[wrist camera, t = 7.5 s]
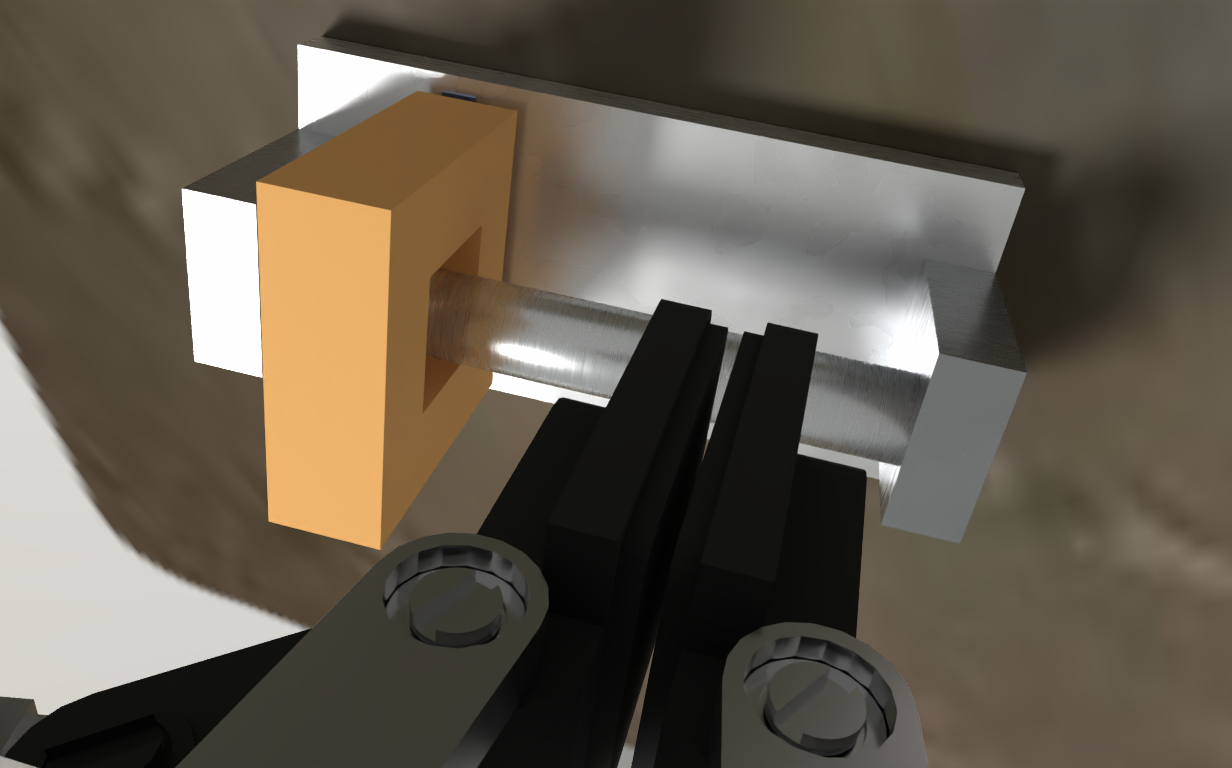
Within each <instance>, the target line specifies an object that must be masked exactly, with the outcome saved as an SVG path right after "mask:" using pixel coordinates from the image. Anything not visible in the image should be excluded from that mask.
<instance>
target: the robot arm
mask: <svg viewBox="0 0 1232 768" xmlns="http://www.w3.org/2000/svg"><path fill="white" fill-rule="evenodd" d="M711 317H712V310H709V309H705V308H700V307H696V306H691V305H687V304H682V303H678V302H673V301H669V300H664V299H661V300H660V302H659V304H658V306H657V307H656V309H655V311H654V313H653V315H652V317H651V319H650V321H649V323H648V325H647V327H646V329H645V331H644V333H643V335H642V337H641V339H640V341H639V343H638V345H637V347H636V349H635V351H634V353H633V355H632V357H631V359H630V361H629V363H628V365H627V367H626V369H625V371H624V373H623V375H622V377H621V379H620V381H619V383H618V384H617V386H616V388H615V390H614V392H613V394H612V396H611V398H610V400H609V402H608V404H607V406H606V407H602V406H598V405H594V404H589V403H585V402H581V401H577V400H573V399H569V398H564V397H562V398H559V399H558V400H557V401H556V403H555V404H554V405H553V407H552V408H551V410H550V412H549V414H548V415H547V417H546V419H545V420H544V422H543V424H542V425H541V427H540V429H539V430H538V432H537V434H536V435H535V437H534V439H533V440H532V442H531V444H530V445H529V447H528V449H527V450H526V452H525V454H524V456H523V457H522V459H521V461H520V462H519V464H518V466H517V467H516V469H515V471H514V472H513V474H512V476H511V477H510V479H509V481H508V482H507V484H506V486H505V487H504V489H503V491H502V493H501V494H500V496H499V498H498V499H497V501H496V503H495V504H494V506H493V508H492V509H491V511H490V513H489V514H488V516H487V518H486V519H485V521H484V523H483V524H482V526H481V528H480V529H479V531H478V533H477V534H467V533H444V534H438V535H432V536H425V537H421V538H418V539H416V540H413V541H411V542H408V543H406V544H403V545H401V546H398V547H397V548H395V549H394V550H393V551H391V552H390V553H389V554H387V555H386V556H385V557H383V558H382V559H381V560H379V561H378V562H377V563H376V564H375V565H374V566H373V567H372V568H371V569H370V570H369V571H368V572H367V573H366V574H365V575H364V576H363V577H362V578H361V579H360V580H359V581H358V582H357V583H356V584H355V585H354V586H353V588H352V589H351V590H350V591H349V592H348V593H347V594H346V595H345V596H344V597H343V598H342V599H341V600H340V601H339V602H338V603H337V604H336V605H335V606H334V607H333V608H332V609H331V610H330V611H329V612H328V613H327V614H326V615H325V616H324V617H323V618H322V619H321V620H320V621H319V622H318V623H317V624H316V625H315V626H314V627H313V628H311V629H308V630H305V631H301V632H298V633H295V634H291V635H288V636H284V637H281V638H278V639H275V640H271V641H268V642H264V643H261V644H258V645H255V646H251V647H248V648H244V649H241V650H238V651H234V652H231V653H228V654H224V655H221V656H217V657H214V658H211V659H207V660H204V661H201V662H198V663H194V664H191V665H187V666H184V667H181V668H177V669H174V670H171V671H167V672H164V673H161V674H157V675H154V676H151V677H147V678H144V679H140V680H137V681H134V682H130V683H127V684H124V685H121V686H117V687H114V688H110V689H107V690H104V691H100V692H97V693H94V694H91V695H89V696H86V697H84V698H82V699H79V700H77V701H74V702H72V703H69V704H67V705H64V706H62V707H60V708H59V709H57V710H56V711H54V712H53V713H51V714H50V715H39V714H38V713H37V710H36V706H35V702H34V700H33V699H23V698H10V697H0V768H617V766H618V763H619V759H620V756H621V753H622V750H623V746H624V743H625V740H626V737H627V733H628V730H629V727H630V724H631V720H632V717H633V714H634V711H635V707H636V704H637V701H638V697H639V694H640V691H641V688H642V684H643V681H644V678H645V675H646V671H647V668H648V665H649V662H650V658H651V655H652V652H653V648H654V653H653V658H652V663H651V668H650V673H649V678H648V684H647V689H646V694H645V699H644V704H643V709H642V715H641V720H640V725H639V730H638V735H637V740H636V745H635V751H634V756H633V761H632V766H631V768H929V766H928V761H927V756H926V751H925V746H924V741H923V736H922V731H921V725H920V720H919V715H918V710H917V707H916V704H915V702H914V699H913V697H912V694H911V691H910V689H909V686H908V684H907V683H906V682H905V680H904V679H903V678H902V676H901V675H900V674H899V673H898V671H897V670H896V669H895V667H894V666H893V665H892V663H891V662H889V661H888V660H887V659H886V658H884V657H883V656H882V655H881V654H879V653H878V652H877V651H876V650H874V649H873V648H872V647H871V646H869V645H868V644H866V643H864V642H862V641H860V640H858V639H856V630H857V615H858V600H859V585H860V571H861V556H862V541H863V527H864V512H865V497H866V483H867V472H866V471H865V470H864V469H860V468H856V467H851V466H847V465H843V464H839V463H835V462H831V461H827V460H822V459H818V458H814V457H810V456H806V455H802V454H797V453H798V448H799V442H800V436H801V431H802V425H803V419H804V414H805V408H806V402H807V397H808V391H809V385H810V380H811V374H812V369H813V363H814V357H815V352H816V346H817V340H818V333H813V332H809V331H804V330H800V329H795V328H791V327H786V326H782V325H777V324H773V323H768V322H767V326H766V329H765V333H764V335H759V334H755V333H750V332H746V331H744V333H743V336H742V339H741V342H740V346H739V349H738V352H737V355H736V358H735V361H734V364H733V368H732V371H731V374H730V377H729V380H728V383H727V386H726V390H725V393H724V396H723V399H722V402H721V405H720V408H719V412H718V415H717V418H716V421H715V424H714V427H713V430H712V433H711V437H710V440H709V443H708V446H707V449H706V452H705V455H704V450H705V445H706V440H707V435H708V430H709V425H710V420H711V415H712V410H713V405H714V400H715V395H716V390H717V385H718V380H719V376H720V371H721V366H722V361H723V356H724V351H725V346H726V341H727V335H728V327H724V326H719V325H715V324H711ZM703 455H704V459H703ZM702 460H703V462H702ZM654 645H655V647H654Z"/></svg>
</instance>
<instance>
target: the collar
mask: <svg viewBox="0 0 1232 768" xmlns="http://www.w3.org/2000/svg"><path fill="white" fill-rule="evenodd" d="M517 112H518V111H516V110H511V109H506V108H501V107H496V106H491V105H486V104H481V103H476V102H471V101H466V100H461V99H456V98H451V97H446V96H441V95H436V94H431V93H426V92H421V91H416V92H414V93H413V94H411V95H409V96H407V97H405V98H404V99H402V100H400V101H398V102H397V103H395V104H393V105H391V106H389V107H388V108H386V109H384V110H382V111H381V112H379V113H377V114H375V115H373V116H372V117H370V118H368V119H366V120H365V121H363V122H361V123H359V124H357V125H356V126H354V127H352V128H350V129H349V130H347V131H345V132H343V133H341V134H340V135H338V136H336V137H334V138H333V139H331V140H329V141H327V142H325V143H324V144H322V145H320V146H318V147H317V148H315V149H313V150H311V151H309V152H308V153H306V154H304V155H302V156H301V157H299V158H297V159H295V160H293V161H292V162H290V163H288V164H286V165H285V166H283V167H281V168H279V169H277V170H276V171H274V172H272V173H270V174H269V175H267V176H265V177H263V178H261V179H260V180H258V181H256V191H257V218H258V245H259V272H260V299H261V327H262V354H263V381H264V408H265V435H266V462H267V489H268V516H269V522H273V523H277V524H281V525H285V526H289V527H293V528H297V529H301V530H305V531H308V532H312V533H316V534H320V535H324V536H328V537H332V538H336V539H340V540H344V541H348V542H352V543H355V544H359V545H363V546H367V547H371V548H375V549H379V550H380V549H381V548H382V546H383V545H384V543H385V542H386V540H387V539H388V538H389V536H390V535H391V533H392V532H393V530H394V529H395V527H396V526H397V524H398V523H399V521H400V520H401V518H402V517H403V515H404V514H405V512H406V511H407V509H408V508H409V506H410V505H411V503H412V502H413V501H414V499H415V498H416V496H417V495H418V493H419V492H420V490H421V489H422V487H423V486H424V484H425V483H426V481H427V480H428V478H429V477H430V475H431V474H432V472H433V471H434V469H435V468H436V466H437V465H438V464H439V462H440V461H441V459H442V458H443V456H444V455H445V453H446V452H447V450H448V449H449V447H450V446H451V444H452V443H453V441H454V440H455V438H456V437H457V435H458V434H459V432H460V431H461V429H462V428H463V427H464V425H465V424H466V422H467V421H468V419H469V418H470V416H471V415H472V413H473V412H474V410H475V409H476V407H477V406H478V404H479V403H480V401H481V400H482V398H483V397H484V395H485V394H486V392H487V391H488V390H489V388H490V387H491V385H492V382H493V372H490V371H486V370H481V369H477V368H473V367H468V366H464V365H460V364H455V363H451V362H447V361H442V360H438V359H434V358H429V357H426V343H427V325H428V306H429V288H430V277H431V276H432V275H433V274H434V273H435V272H436V271H437V270H438V269H439V268H443V269H448V270H452V271H457V272H461V273H466V274H471V275H475V276H480V277H484V278H489V279H493V280H498V281H502V274H503V263H504V252H505V242H506V231H507V220H508V209H509V198H510V188H511V177H512V166H513V155H514V144H515V134H516V123H517Z"/></svg>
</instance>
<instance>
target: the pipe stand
mask: <svg viewBox="0 0 1232 768" xmlns="http://www.w3.org/2000/svg"><path fill="white" fill-rule="evenodd" d="M298 87H299V129H297V130H296V131H294V132H292V133H290V134H288V135H286V136H284V137H282V138H280V139H278V140H276V141H274V142H272V143H270V144H268V145H266V146H264V147H262V148H260V149H258V150H256V151H254V152H253V153H251V154H249V155H247V156H245V157H243V158H241V159H239V160H237V161H235V162H233V163H231V164H229V165H227V166H225V167H223V168H221V169H219V170H217V171H215V172H213V173H211V174H209V175H208V176H206V177H204V178H202V179H200V180H198V181H196V182H194V183H192V184H190V185H188V186H186V187H184V188H182V197H183V210H184V224H185V237H186V250H187V264H188V277H189V290H190V304H191V317H192V330H193V344H194V357H195V361H196V362H200V363H204V364H208V365H213V366H217V367H221V368H225V369H229V370H234V371H238V372H242V373H246V374H250V375H255V376H259V377H263V354H262V327H261V299H260V272H259V245H258V218H257V191H256V181H258V180H260V179H261V178H263V177H265V176H267V175H269V174H270V173H272V172H274V171H276V170H277V169H279V168H281V167H283V166H285V165H286V164H288V163H290V162H292V161H293V160H295V159H297V158H299V157H301V156H302V155H304V154H306V153H308V152H309V151H311V150H313V149H315V148H317V147H318V146H320V145H322V144H324V143H325V142H327V141H329V140H331V139H333V138H334V137H336V136H338V135H340V134H341V133H343V132H345V131H347V130H349V129H350V128H352V127H354V126H356V125H357V124H359V123H361V122H363V121H365V120H366V119H368V118H370V117H372V116H373V115H375V114H377V113H379V112H381V111H382V110H384V109H386V108H388V107H389V106H391V105H393V104H395V103H397V102H398V101H400V100H402V99H404V98H405V97H407V96H409V95H411V94H413V93H414V92H416V91H421V92H426V93H431V94H436V95H441V96H446V97H451V98H456V99H461V100H466V101H471V102H476V103H481V104H486V105H491V106H496V107H501V108H506V109H511V110H516V111H518V112H517V123H516V134H515V144H514V155H513V166H512V177H511V188H510V198H509V209H508V220H507V231H506V242H505V252H504V263H503V274H502V281H498V280H493V279H489V278H484V277H480V276H475V275H471V274H466V273H461V272H457V271H452V270H448V269H443V268H439V269H438V270H437V271H436V272H435V273H434V274H433V275H432V276H431V277H430V288H429V306H428V325H427V343H426V357H429V358H434V359H438V360H442V361H447V362H451V363H455V364H460V365H464V366H468V367H473V368H477V369H481V370H486V371H490V372H493V382H492V385H491V387H490V389H494V390H499V391H503V392H507V393H511V394H516V395H520V396H524V397H529V398H533V399H537V400H541V401H546V402H550V403H554V404H555V403H556V401H557V400H558V399H559V398H562V397H564V398H569V399H573V400H577V401H581V402H585V403H589V404H594V405H598V406H602V407H606V406H607V404H608V402H609V400H610V398H611V396H612V394H613V392H614V390H615V388H616V386H617V384H618V383H619V381H620V379H621V377H622V375H623V373H624V371H625V369H626V367H627V365H628V363H629V361H630V359H631V357H632V355H633V353H634V351H635V349H636V347H637V345H638V343H639V341H640V339H641V337H642V335H643V333H644V331H645V329H646V327H647V325H648V323H649V321H650V319H651V317H652V315H653V313H654V311H655V309H656V307H657V306H658V304H659V302H660V300H661V299H664V300H669V301H673V302H678V303H682V304H687V305H691V306H696V307H700V308H705V309H709V310H712V317H711V324H715V325H719V326H724V327H728V335H727V341H726V346H725V351H724V356H723V361H722V366H721V371H720V376H719V380H718V385H717V390H716V395H715V400H714V405H713V410H712V415H711V420H710V425H709V430H708V435H707V439H708V440H710V437H711V433H712V430H713V427H714V424H715V421H716V418H717V415H718V412H719V408H720V405H721V402H722V399H723V396H724V393H725V390H726V386H727V383H728V380H729V377H730V374H731V371H732V368H733V364H734V361H735V358H736V355H737V352H738V349H739V346H740V342H741V339H742V336H743V333H744V331H746V332H750V333H755V334H759V335H764V333H765V329H766V326H767V322H768V323H773V324H777V325H782V326H786V327H791V328H795V329H800V330H804V331H809V332H813V333H818V340H817V346H816V352H815V357H814V363H813V369H812V374H811V380H810V385H809V391H808V397H807V402H806V408H805V414H804V419H803V425H802V431H801V436H800V442H799V448H798V453H797V454H802V455H806V456H810V457H814V458H818V459H822V460H827V461H831V462H835V463H839V464H843V465H847V466H851V467H856V468H860V469H864V470H865V471H866V472H867V477H871V478H876V479H879V481H880V511H881V525H884V526H888V527H892V528H896V529H900V530H905V531H909V532H913V533H917V534H921V535H926V536H930V537H934V538H938V539H942V540H946V541H951V542H955V543H959V544H960V542H961V540H962V537H963V535H964V532H965V529H966V527H967V524H968V522H969V519H970V517H971V514H972V512H973V509H974V507H975V504H976V501H977V499H978V496H979V494H980V491H981V489H982V486H983V484H984V481H985V479H986V476H987V474H988V471H989V468H990V466H991V463H992V461H993V458H994V456H995V453H996V451H997V448H998V446H999V443H1000V440H1001V438H1002V435H1003V433H1004V430H1005V428H1006V425H1007V423H1008V420H1009V418H1010V415H1011V413H1012V410H1013V407H1014V405H1015V402H1016V400H1017V397H1018V395H1019V392H1020V390H1021V387H1022V385H1023V382H1024V379H1025V377H1026V374H1027V371H1026V368H1025V365H1024V362H1023V358H1022V355H1021V352H1020V349H1019V346H1018V343H1017V340H1016V337H1015V333H1014V330H1013V327H1012V324H1011V321H1010V318H1009V315H1008V311H1007V308H1006V305H1005V302H1004V299H1003V296H1002V293H1001V290H1000V286H999V283H998V280H997V277H996V274H995V273H996V270H997V267H998V264H999V262H1000V259H1001V256H1002V253H1003V250H1004V247H1005V245H1006V242H1007V239H1008V236H1009V233H1010V231H1011V228H1012V225H1013V222H1014V219H1015V217H1016V214H1017V211H1018V208H1019V205H1020V202H1021V200H1022V197H1023V194H1024V191H1025V187H1024V185H1023V183H1022V180H1021V178H1020V176H1019V174H1018V173H1016V172H1011V171H1006V170H1000V169H995V168H990V167H985V166H980V165H975V164H970V163H965V162H960V161H955V160H950V159H944V158H939V157H934V156H929V155H924V154H919V153H914V152H909V151H904V150H899V149H893V148H888V147H883V146H878V145H873V144H868V143H863V142H858V141H853V140H848V139H842V138H837V137H832V136H827V135H822V134H817V133H812V132H807V131H802V130H797V129H792V128H786V127H781V126H776V125H771V124H766V123H761V122H756V121H751V120H746V119H741V118H735V117H730V116H725V115H720V114H715V113H710V112H705V111H700V110H695V109H690V108H685V107H679V106H674V105H669V104H664V103H659V102H654V101H649V100H644V99H639V98H634V97H628V96H623V95H618V94H613V93H608V92H603V91H598V90H593V89H588V88H583V87H577V86H572V85H567V84H562V83H557V82H552V81H547V80H542V79H537V78H532V77H527V76H521V75H516V74H511V73H506V72H501V71H496V70H491V69H486V68H481V67H476V66H470V65H465V64H460V63H455V62H450V61H445V60H440V59H435V58H430V57H425V56H419V55H414V54H409V53H404V52H399V51H394V50H389V49H384V48H379V47H374V46H369V45H363V44H358V43H353V42H348V41H343V40H338V39H333V38H328V37H323V36H321V37H318V38H315V39H312V40H309V41H307V42H304V43H301V44H298Z"/></svg>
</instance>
